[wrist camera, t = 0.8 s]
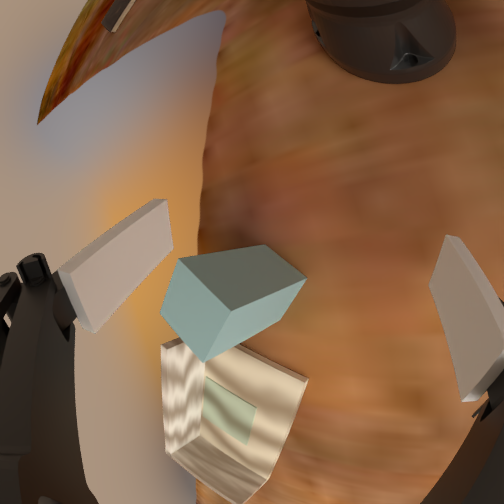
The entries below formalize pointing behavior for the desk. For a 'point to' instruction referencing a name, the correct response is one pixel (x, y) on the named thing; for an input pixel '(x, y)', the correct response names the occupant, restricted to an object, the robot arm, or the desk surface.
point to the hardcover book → (116, 14)
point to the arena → (227, 415)
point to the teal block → (228, 297)
